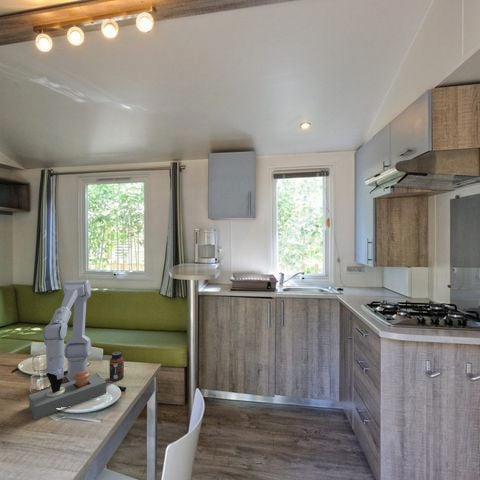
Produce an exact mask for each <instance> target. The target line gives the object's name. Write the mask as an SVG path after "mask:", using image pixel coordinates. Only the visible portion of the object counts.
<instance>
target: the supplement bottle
mask: <svg viewBox="0 0 480 480" xmlns="http://www.w3.org/2000/svg"><path fill="white" fill-rule="evenodd" d="M124 365H125V361H124V357H123V356H122V352H121V351H115V352H112V353H111V358H109V380H110V381H113V382H116V381H120V380H122V379H123V378H124V377H125V376H124V375H125V366H124Z"/></svg>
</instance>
